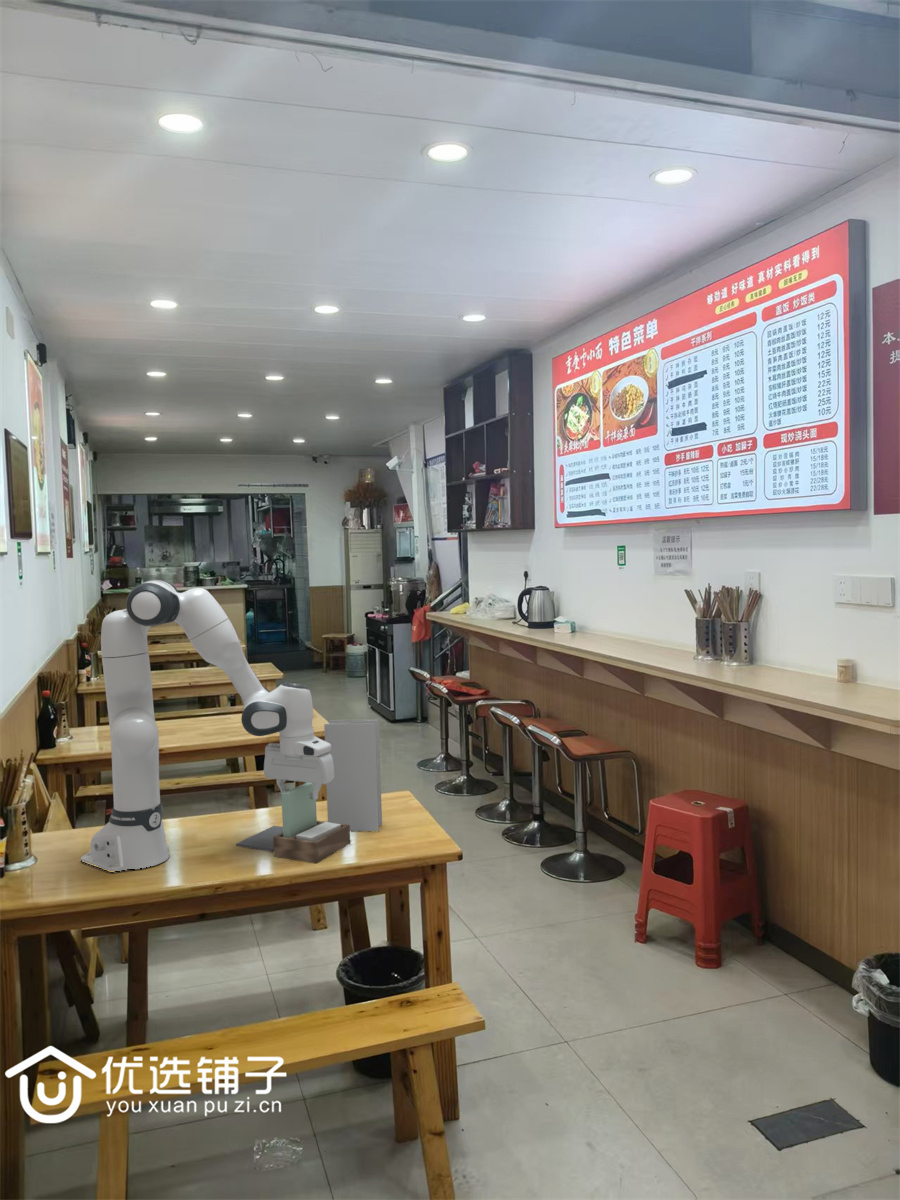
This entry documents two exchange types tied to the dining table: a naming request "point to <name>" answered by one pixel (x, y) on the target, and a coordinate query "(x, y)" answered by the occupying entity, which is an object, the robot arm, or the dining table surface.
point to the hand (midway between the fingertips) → (299, 797)
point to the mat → (262, 839)
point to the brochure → (355, 774)
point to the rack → (311, 845)
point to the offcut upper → (318, 831)
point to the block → (298, 810)
